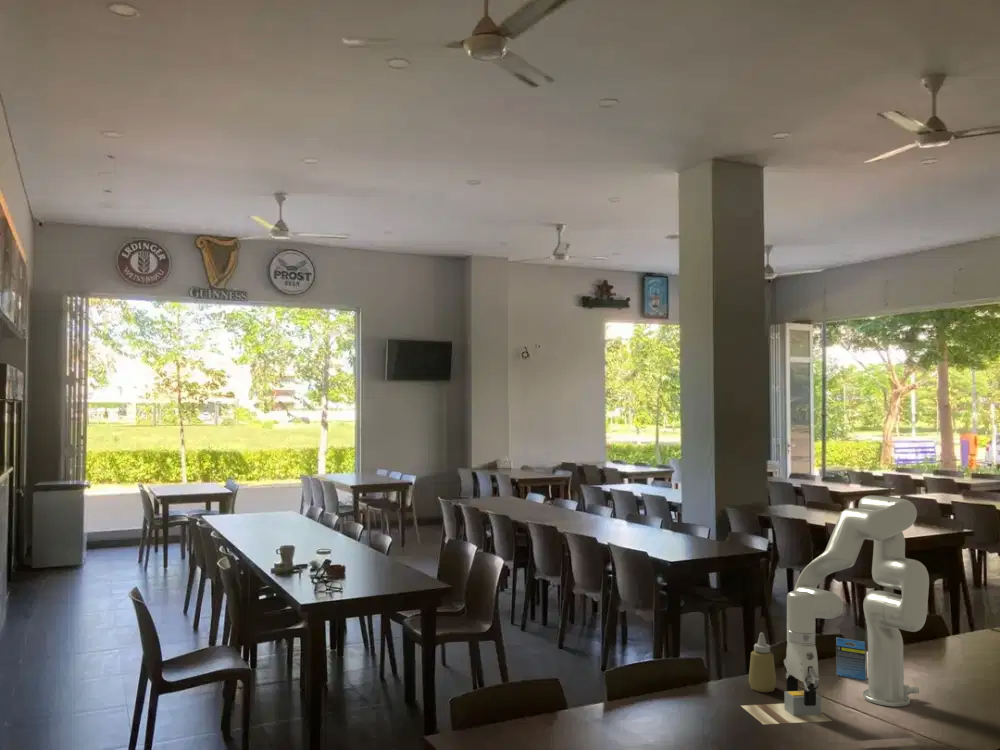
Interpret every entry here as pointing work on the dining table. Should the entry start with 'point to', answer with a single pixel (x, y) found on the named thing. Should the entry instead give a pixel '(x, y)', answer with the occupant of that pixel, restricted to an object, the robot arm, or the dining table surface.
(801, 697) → the grey block
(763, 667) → the squeeze bottle
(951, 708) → the dining table surface
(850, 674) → the label tape box
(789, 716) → the board
